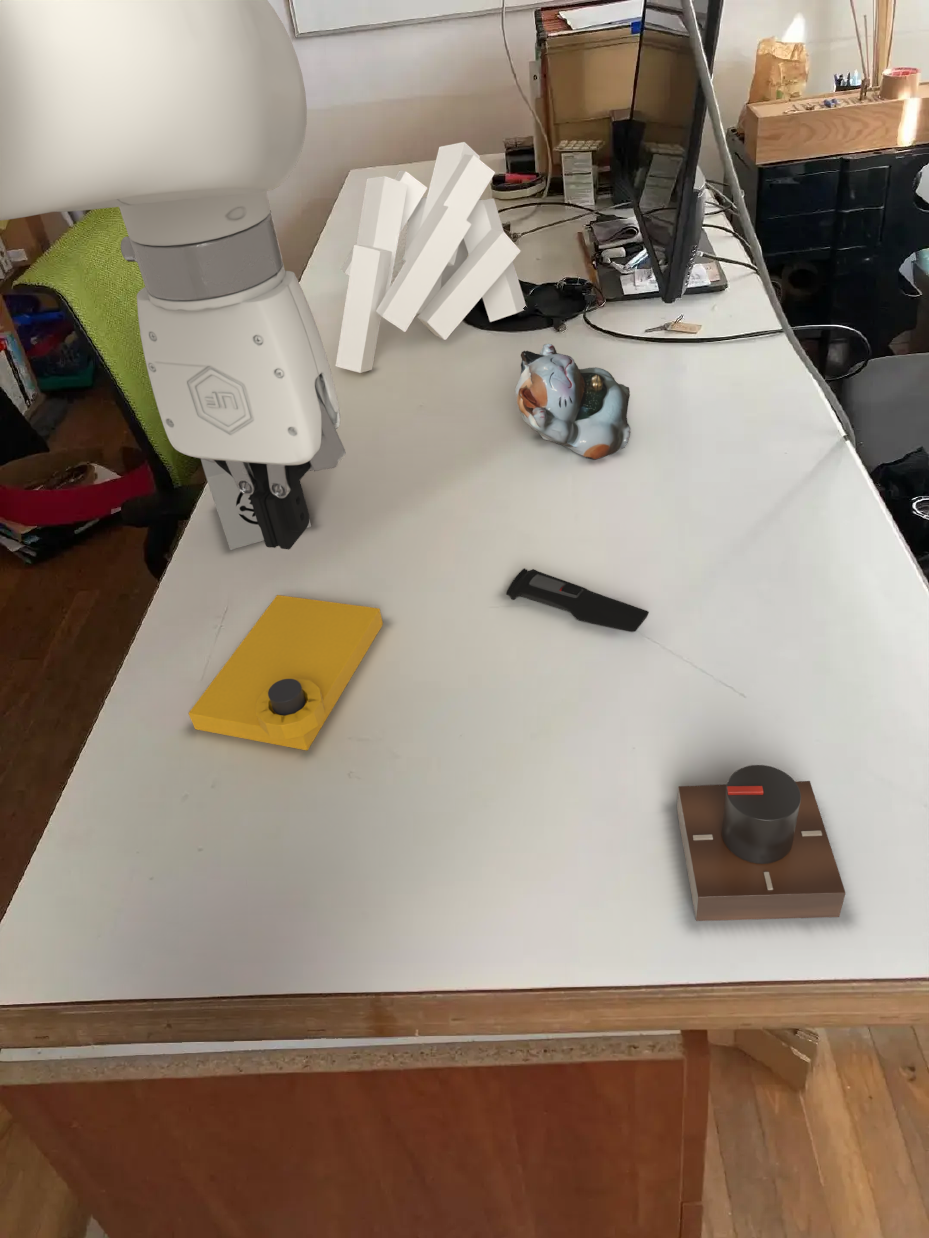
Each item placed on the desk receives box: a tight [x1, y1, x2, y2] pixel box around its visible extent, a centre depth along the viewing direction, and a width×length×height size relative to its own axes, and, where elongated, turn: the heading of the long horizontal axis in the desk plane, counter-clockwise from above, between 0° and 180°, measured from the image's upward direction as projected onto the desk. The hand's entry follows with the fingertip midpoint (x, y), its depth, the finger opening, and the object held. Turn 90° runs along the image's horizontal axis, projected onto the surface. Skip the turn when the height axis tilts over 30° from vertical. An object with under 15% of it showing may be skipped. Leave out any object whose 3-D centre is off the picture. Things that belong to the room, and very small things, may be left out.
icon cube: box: [200, 459, 312, 551], centre depth 112 cm, size 10×10×10 cm
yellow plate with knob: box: [188, 594, 384, 751], centre depth 90 cm, size 19×13×4 cm
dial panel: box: [676, 780, 846, 922], centre depth 69 cm, size 10×10×3 cm
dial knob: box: [722, 764, 801, 864], centre depth 67 cm, size 5×5×5 cm
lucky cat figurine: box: [514, 343, 631, 460], centre depth 118 cm, size 15×12×14 cm
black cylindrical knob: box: [268, 679, 305, 716], centre depth 83 cm, size 3×3×2 cm
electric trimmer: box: [505, 568, 650, 633], centre depth 94 cm, size 4×16×3 cm, turn 54°
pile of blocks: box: [335, 141, 527, 374], centre depth 147 cm, size 35×30×35 cm
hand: (288, 536), depth 62 cm, fingers closed
